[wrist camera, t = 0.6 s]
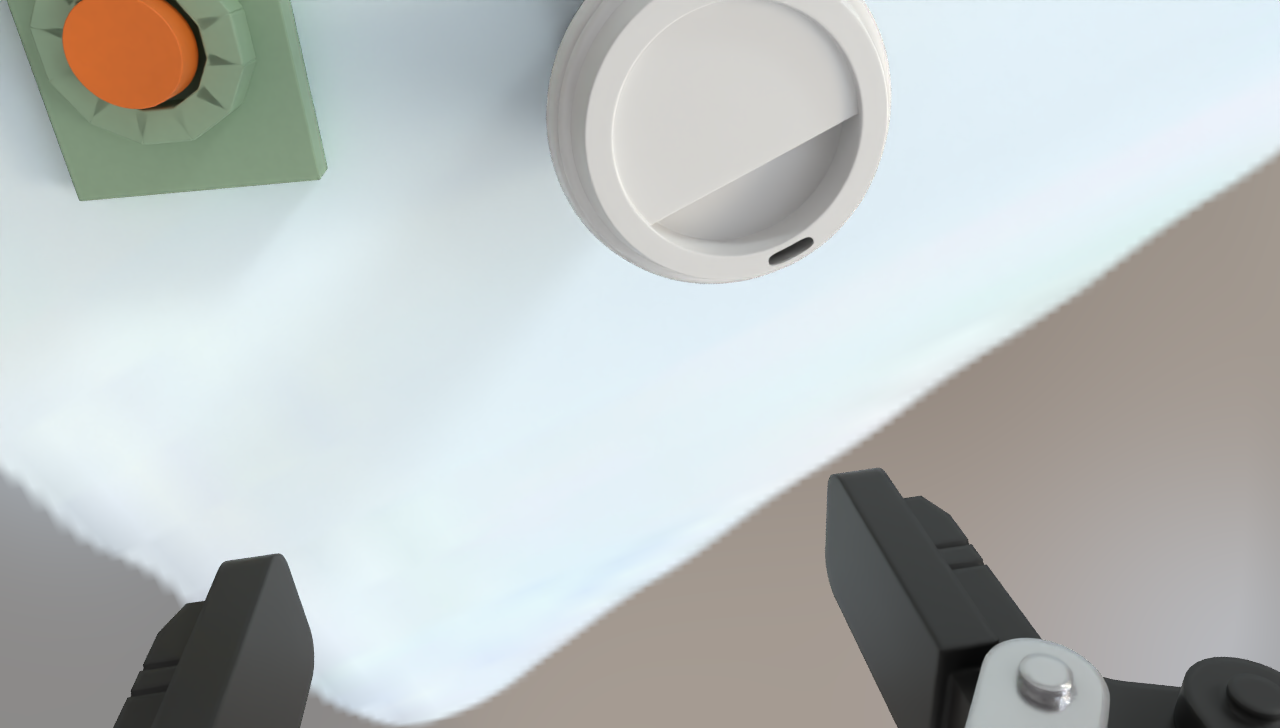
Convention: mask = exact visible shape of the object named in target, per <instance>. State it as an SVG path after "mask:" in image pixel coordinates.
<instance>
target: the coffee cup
mask: <svg viewBox="0 0 1280 728" xmlns="http://www.w3.org/2000/svg"><path fill="white" fill-rule="evenodd" d="M890 113H891V79H890V70H889V64H888V58H887V54H886V50H885V46H884V43H883V40H882V37H881V34H880V31H879V29H878V26H877V24H876V22H875V20H874V17H873V15H872V14H871V12H870V10H869V8H868V6H867V5H866V3H865V1H864V0H585V1H584V2H583V3H582V5H581V6H580V8H579V9H578V11H577V12H576V14H575V16H574V17H573V19H572V21H571V23H570V24H569V26H568V28H567V30H566V32H565V34H564V37H563V39H562V41H561V44H560V46H559V49H558V52H557V55H556V58H555V61H554V64H553V68H552V72H551V76H550V82H549V88H548V95H547V110H546V122H547V135H548V143H549V149H550V154H551V158H552V162H553V166H554V169H555V172H556V175H557V178H558V180H559V183H560V185H561V187H562V190H563V192H564V194H565V196H566V198H567V200H568V201H569V203H570V205H571V206H572V208H573V210H574V211H575V213H576V214H577V216H578V217H579V218H580V220H581V221H582V222H583V223H584V225H585V226H586V227H587V228H588V229H589V231H590V232H591V233H592V234H593V235H594V236H595V237H596V238H597V239H598V240H599V241H601V242H602V243H603V244H604V245H605V246H606V247H608V248H609V249H610V250H611V251H613V252H614V253H616V254H617V255H619V256H620V257H622V258H623V259H625V260H627V261H628V262H630V263H632V264H634V265H636V266H638V267H640V268H642V269H644V270H646V271H648V272H651V273H653V274H656V275H659V276H662V277H665V278H669V279H673V280H677V281H682V282H689V283H700V284H720V283H732V282H739V281H744V280H749V279H753V278H757V277H760V276H764V275H767V274H769V273H772V272H775V271H777V270H780V269H782V268H785V267H787V266H789V265H791V264H793V263H795V262H797V261H799V260H801V259H802V258H804V257H806V256H807V255H809V254H810V253H812V252H813V251H815V250H816V249H817V248H819V247H820V246H821V245H823V244H824V243H825V242H826V241H827V240H829V239H830V238H831V237H832V236H833V235H834V234H835V233H836V232H837V231H838V230H839V229H840V228H841V227H842V226H843V225H844V224H845V222H846V221H847V220H848V219H849V218H850V216H851V215H852V214H853V212H854V211H855V210H856V208H857V207H858V205H859V204H860V202H861V201H862V199H863V197H864V196H865V194H866V192H867V190H868V189H869V187H870V185H871V182H872V180H873V178H874V176H875V173H876V171H877V168H878V165H879V162H880V159H881V157H882V153H883V150H884V147H885V143H886V139H887V134H888V129H889V122H890Z"/></svg>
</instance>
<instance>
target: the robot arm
mask: <svg viewBox="0 0 1280 728" xmlns="http://www.w3.org/2000/svg"><path fill="white" fill-rule="evenodd" d="M825 558H826V568H827V573H828V578H829V582H830V586H831V589H832V592H833V594H834V597H835V599H836V601H837V603H838V605H839V607H840V609H841V611H842V613H843V615H844V617H845V619H846V622H847V623H848V626H849V628H850V630H851V632H852V634H853V636H854V638H855V640H856V642H857V644H858V646H859V648H860V651H861V653H862V655H863V657H864V659H865V661H866V663H867V665H868V667H869V669H870V671H871V673H872V675H873V677H874V680H875V682H876V684H877V686H878V688H879V690H880V692H881V694H882V696H883V698H884V700H885V702H886V704H887V706H888V709H889V711H890V713H891V715H892V717H893V719H894V721H895V723H896V725H897V727H898V728H1280V672H1278V671H1276V670H1274V669H1272V668H1270V667H1267V666H1264V665H1262V664H1259V663H1256V662H1253V661H1249V660H1245V659H1240V658H1232V657H1213V658H1208V659H1204V660H1202V661H1199V662H1197V663H1195V664H1194V665H1193V666H1191V667H1190V668H1189V670H1188V671H1187V672H1186V675H1185V677H1184V680H1183V683H1182V686H1181V687H1174V686H1165V685H1155V684H1145V683H1136V682H1126V681H1118V680H1113V679H1109V678H1105V677H1102V675H1101V674H1100V673H1099V671H1098V670H1097V669H1096V668H1095V667H1094V666H1093V665H1092V664H1091V663H1090V662H1089V661H1087V660H1086V659H1085V658H1084V657H1082V656H1081V655H1079V654H1078V653H1076V652H1074V651H1073V650H1070V649H1069V648H1067V647H1064V646H1062V645H1059V644H1057V643H1054V642H1050V641H1046V640H1042V639H1041V638H1040V636H1039V635H1038V633H1037V632H1036V631H1035V629H1034V628H1033V627H1032V625H1031V624H1030V623H1029V621H1028V620H1027V619H1026V617H1025V616H1024V615H1023V613H1022V612H1021V611H1020V609H1019V608H1018V606H1017V605H1016V604H1015V602H1014V601H1013V600H1012V598H1011V597H1010V596H1009V594H1008V593H1007V592H1006V590H1005V589H1004V588H1003V586H1002V585H1001V583H1000V582H999V581H998V579H997V578H996V577H995V575H994V574H993V573H992V571H991V570H990V568H989V567H988V566H987V565H984V563H983V559H982V558H981V556H980V555H979V554H978V552H977V551H976V549H975V548H974V547H973V545H971V544H970V545H969V543H968V539H967V537H966V536H965V535H964V533H963V532H962V530H961V529H960V528H959V526H958V525H957V524H956V522H955V521H954V520H953V519H952V517H951V516H950V515H949V514H948V513H946V512H945V511H943V510H942V509H940V508H939V507H937V506H936V505H934V504H933V503H931V502H930V501H928V500H927V499H925V498H924V497H922V496H916V497H909V498H903V497H902V496H901V494H900V493H899V492H898V490H897V489H896V487H895V486H894V484H893V483H892V481H891V480H890V478H889V477H888V475H887V474H886V473H885V471H884V470H883V469H881V468H873V469H867V470H859V471H853V472H846V473H840V474H833V475H831V476H830V478H829V481H828V491H827V519H826V547H825ZM143 667H144V669H143V671H140V672H139V674H138V677H137V679H136V681H135V683H134V685H133V687H132V689H131V697H129V698H127V700H126V702H125V704H124V706H123V708H122V710H121V713H120V715H119V717H118V719H117V721H116V723H115V725H114V727H113V728H300V725H301V721H302V717H303V713H304V709H305V705H306V701H307V697H308V693H309V689H310V685H311V681H312V676H313V670H314V647H313V639H312V634H311V631H310V628H309V625H308V622H307V619H306V616H305V613H304V610H303V607H302V604H301V601H300V598H299V595H298V593H297V590H296V587H295V584H294V581H293V578H292V575H291V572H290V569H289V566H288V564H287V561H286V560H285V558H284V557H283V555H281V554H279V553H278V554H271V555H264V556H258V557H251V558H244V559H237V560H230V561H225V562H223V563H222V564H221V566H220V567H219V569H218V572H217V574H216V576H215V579H214V581H213V583H212V586H211V588H210V590H209V593H208V595H207V597H206V600H205V601H201V602H194V603H187V604H186V605H185V606H184V607H183V608H182V609H181V610H180V611H179V612H178V613H177V614H176V615H175V616H174V617H173V618H172V619H171V620H170V621H169V623H167V624H166V625H165V627H164V628H163V629H162V630H161V631H160V632H159V633H158V634H157V636H156V639H155V641H154V643H153V645H152V647H151V649H150V651H149V653H148V655H147V658H146V660H145V662H144V664H143Z"/></svg>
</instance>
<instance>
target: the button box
mask: <svg viewBox="0 0 1280 728" xmlns="http://www.w3.org/2000/svg"><path fill="white" fill-rule="evenodd" d="M80 1H82V0H7V2H8V5H9V8H10V11H11V14H12V16H13V19H14V22H15V25H16V27H17V30H18V33H19V36H20V38H21V41H22V44H23V47H24V49H25V52H26V55H27V58H28V60H29V63H30V66H31V69H32V71H33V74H34V77H35V80H36V82H37V85H38V88H39V91H40V93H41V96H42V99H43V102H44V104H45V107H46V110H47V113H48V115H49V118H50V121H51V124H52V127H53V129H54V132H55V135H56V138H57V140H58V143H59V146H60V149H61V151H62V154H63V157H64V160H65V162H66V165H67V168H68V171H69V173H70V176H71V179H72V182H73V184H74V187H75V190H76V193H77V195H78V198H79V200H80V201H88V200H99V199H110V198H121V197H132V196H144V195H155V194H166V193H177V192H188V191H199V190H211V189H222V188H233V187H244V186H255V185H267V184H278V183H289V182H300V181H311V180H320V179H321V177H322V176H323V174H324V173H325V171H326V170H327V163H326V159H325V154H324V150H323V145H322V141H321V136H320V132H319V127H318V123H317V119H316V114H315V110H314V105H313V101H312V96H311V92H310V87H309V83H308V78H307V74H306V69H305V65H304V60H303V56H302V51H301V47H300V42H299V38H298V33H297V29H296V24H295V20H294V15H293V11H292V6H291V2H290V0H165V1H167V2H168V3H170V4H171V5H172V6H173V7H174V8H176V9H177V10H178V12H179V13H180V14H181V15H182V16H183V17H184V18H185V20H186V21H187V23H188V24H189V26H190V27H191V29H192V31H193V34H194V36H195V39H196V42H197V46H198V54H199V59H198V67H197V71H196V74H195V76H194V78H193V80H192V82H191V83H190V84H189V85H188V87H186V88H185V89H184V90H183V91H182V92H180V93H179V94H177V95H175V96H174V97H172V98H170V99H168V100H166V101H165V102H163V103H161V104H159V105H156V106H154V107H150V108H145V109H128V108H123V107H119V106H116V105H113V104H110V103H108V102H106V101H104V100H102V99H100V98H99V97H97V96H96V95H94V94H93V93H92V92H90V91H89V90H88V89H87V88H86V87H85V86H84V85H83V84H82V83H81V82H80V81H79V80H78V79H77V77H76V76H75V74H74V73H73V71H72V70H71V68H70V66H69V64H68V62H67V59H66V57H65V53H64V49H63V42H62V34H63V27H64V24H65V20H66V18H67V16H68V14H69V13H70V11H71V10H72V9H73V7H74V6H76V5H77V4H78V3H79V2H80Z"/></svg>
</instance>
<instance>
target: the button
mask: <svg viewBox="0 0 1280 728" xmlns="http://www.w3.org/2000/svg"><path fill="white" fill-rule="evenodd" d="M62 42H63V49H64V53H65V57H66V59H67V62H68V64H69V66H70V68H71V70H72V71H73V73H74V74H75V76H76V77H77V79H78V80H79V81H80V82H81V83H82V84H83V85H84V86H85V87H86V88H87V89H88V90H89V91H90V92H92V93H93V94H94V95H96V96H97V97H99V98H100V99H102V100H104V101H106V102H108V103H110V104H113V105H116V106H119V107H123V108H128V109H145V108H150V107H154V106H156V105H159V104H161V103H163V102H165V101H166V100H168V99H170V98H172V97H174V96H175V95H177V94H179V93H180V92H182V91H183V90H184V89H185V88H186V87H188V85H189V84H190V83H191V82H192V80H193V78H194V76H195V74H196V71H197V67H198V59H199V54H198V46H197V42H196V39H195V36H194V34H193V31H192V29H191V27H190V26H189V24H188V23H187V21H186V20H185V18H184V17H183V16H182V15H181V14H180V13H179V12H178V10H177V9H176V8H174V7H173V6H172V5H171V4H170V3H168V2H167V1H165V0H82V1H80V2H79V3H78V4H77V5H76V6H74V7H73V9H72V10H71V11H70V13H69V14H68V16H67V18H66V20H65V24H64V27H63V34H62Z"/></svg>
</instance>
